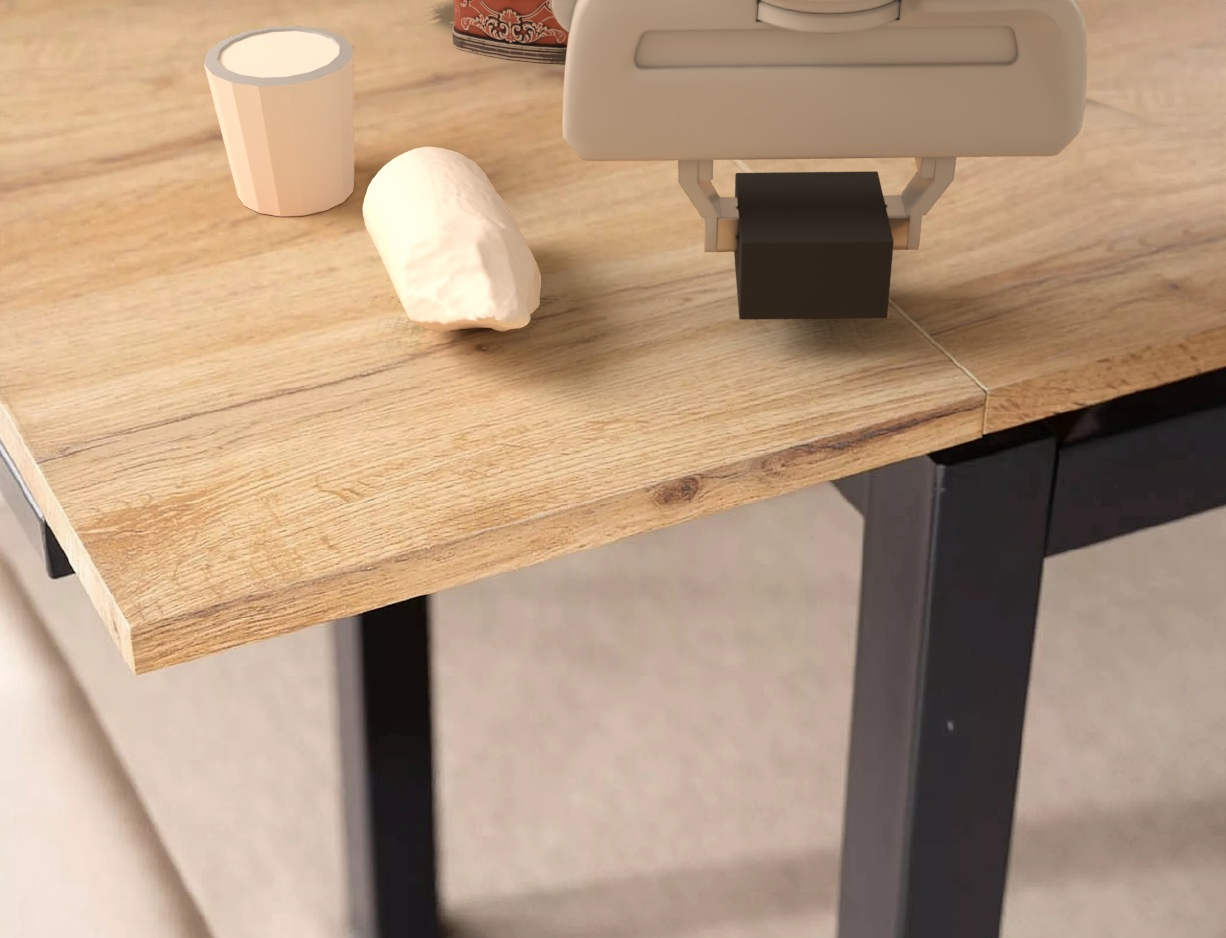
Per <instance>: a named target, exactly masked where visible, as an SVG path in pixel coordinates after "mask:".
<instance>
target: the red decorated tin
mask: <svg viewBox="0 0 1226 938" xmlns="http://www.w3.org/2000/svg"><path fill="white" fill-rule="evenodd" d="M453 13H454V14H453V16H454V24H453V25H452V27H451V32H452V44H453V45H452V46H453V47H454V48H456V49H459V50H462V51H465V52H470V53H474V54H478V55H483V56H487V57H494V58H500V59H506V60H511V61H522V62H529V63H532V62H533V63H544V64H545V63H546V64H547V63H548V64H564V65H565V61H566V51H567V44H568V36H569V33H568V32H567V31H566V30H564V29H563V28H562V27H561V26H560V25H559V23H558V22H557V21H556V19H555V17H554V15H553V13H552V10H551V7H550V1H549V0H453Z"/></svg>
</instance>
